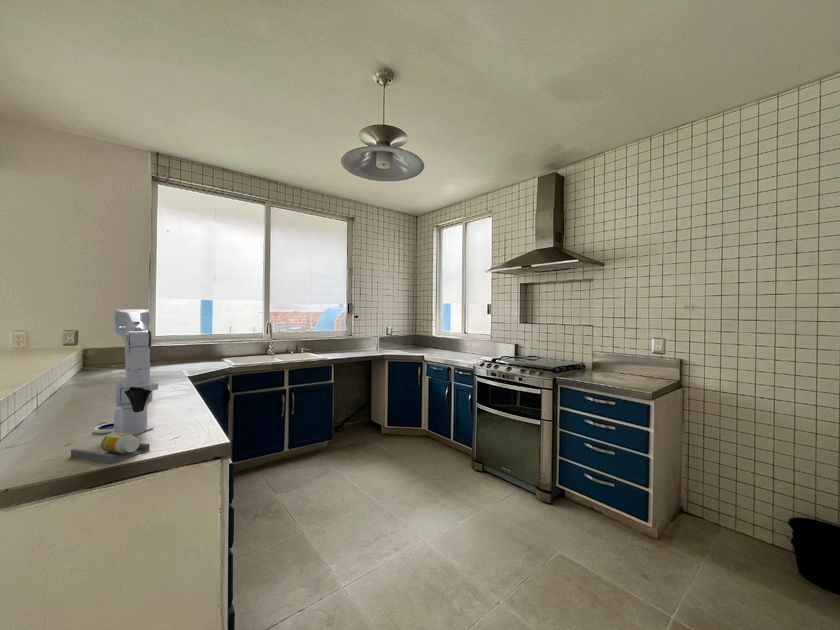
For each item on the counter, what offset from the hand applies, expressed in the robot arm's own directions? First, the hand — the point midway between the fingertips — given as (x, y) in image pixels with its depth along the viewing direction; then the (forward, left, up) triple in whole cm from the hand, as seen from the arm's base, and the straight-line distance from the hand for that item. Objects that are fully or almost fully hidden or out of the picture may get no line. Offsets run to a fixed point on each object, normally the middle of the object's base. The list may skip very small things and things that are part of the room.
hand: (138, 411), depth 110 cm
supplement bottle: (-2, -7, -7) cm, 10 cm away
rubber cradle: (0, -8, -10) cm, 13 cm away
